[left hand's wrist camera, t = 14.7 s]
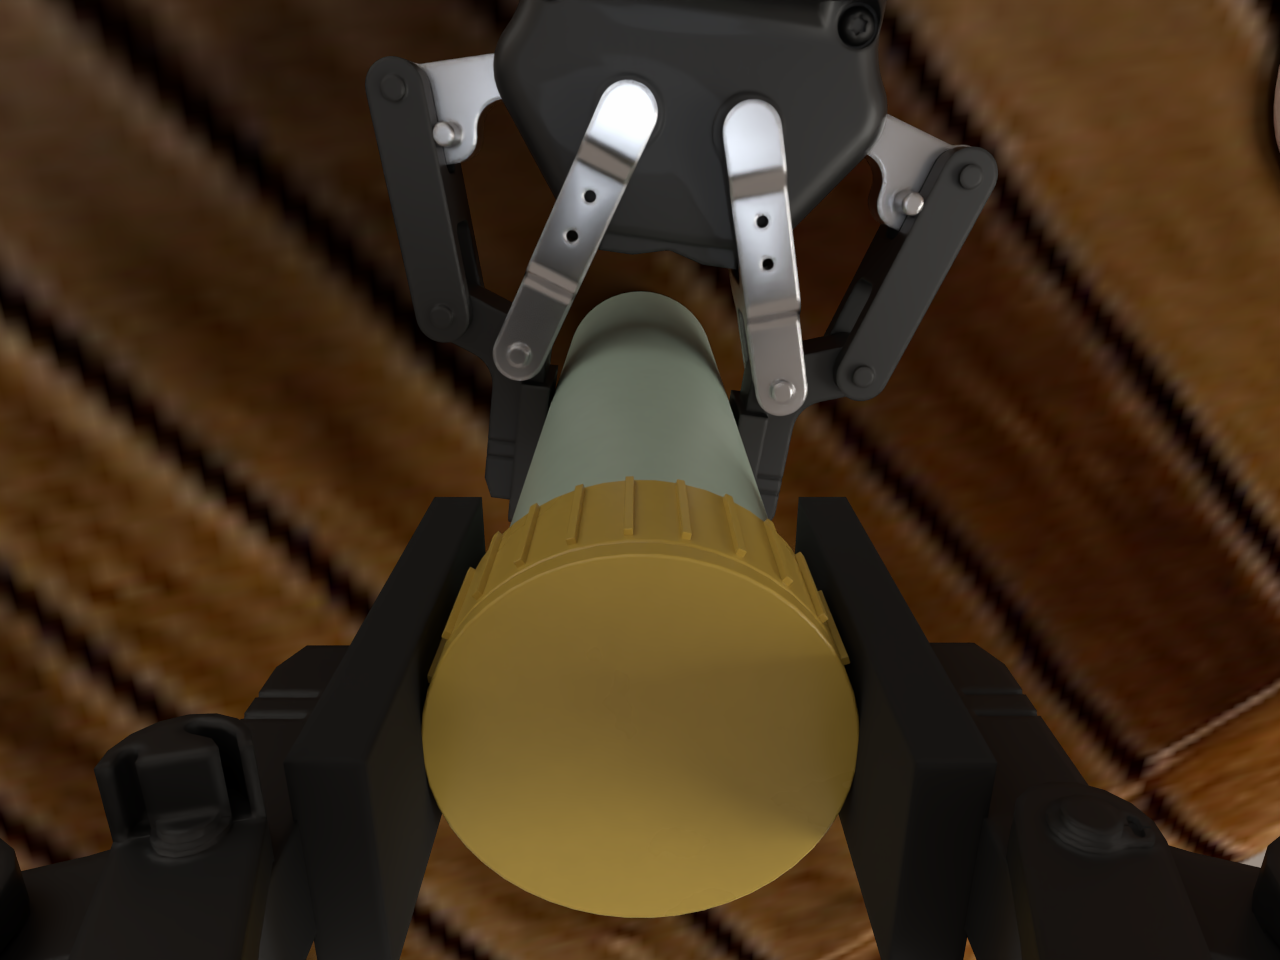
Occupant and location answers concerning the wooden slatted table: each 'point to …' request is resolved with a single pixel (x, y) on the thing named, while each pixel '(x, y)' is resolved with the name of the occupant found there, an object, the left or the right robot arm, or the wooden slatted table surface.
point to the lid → (640, 703)
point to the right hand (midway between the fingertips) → (626, 522)
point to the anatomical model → (1277, 110)
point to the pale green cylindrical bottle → (640, 408)
